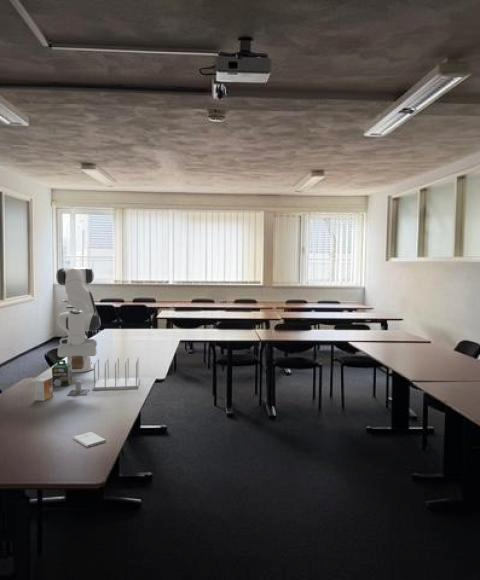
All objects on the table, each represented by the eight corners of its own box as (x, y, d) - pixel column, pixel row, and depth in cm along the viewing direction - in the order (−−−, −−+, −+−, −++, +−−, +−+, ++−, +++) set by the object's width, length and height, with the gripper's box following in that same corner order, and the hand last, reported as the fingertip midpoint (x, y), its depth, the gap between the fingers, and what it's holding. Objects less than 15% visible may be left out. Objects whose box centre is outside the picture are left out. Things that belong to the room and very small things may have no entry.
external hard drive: (87, 449, 186) (73, 440, 195) (106, 443, 192) (91, 434, 201) (87, 445, 186) (73, 436, 195) (106, 439, 192) (91, 431, 201)
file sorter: (92, 390, 264) (91, 363, 263) (97, 382, 281) (96, 356, 280) (138, 388, 268) (137, 361, 267) (139, 380, 285) (139, 355, 284)
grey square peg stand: (71, 390, 264) (70, 379, 263) (89, 389, 265) (89, 378, 265) (67, 395, 254) (66, 383, 254) (86, 395, 255) (85, 383, 255)
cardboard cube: (73, 367, 261) (73, 355, 260) (83, 367, 261) (83, 355, 261) (71, 369, 255) (71, 357, 255) (81, 369, 256) (81, 357, 256)
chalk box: (72, 382, 282) (71, 357, 281) (68, 386, 273) (68, 361, 272) (56, 382, 281) (55, 358, 280) (52, 386, 272) (51, 361, 270)
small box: (44, 401, 245) (43, 381, 244) (34, 400, 246) (34, 380, 245) (53, 396, 253) (52, 377, 252) (44, 396, 254) (43, 376, 253)
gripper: (97, 338, 262) (98, 362, 263) (59, 339, 259) (60, 363, 260) (95, 339, 256) (96, 365, 256) (56, 341, 253) (57, 366, 254)
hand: (77, 364), depth 258 cm, fingers closed on cardboard cube, 5 cm apart
